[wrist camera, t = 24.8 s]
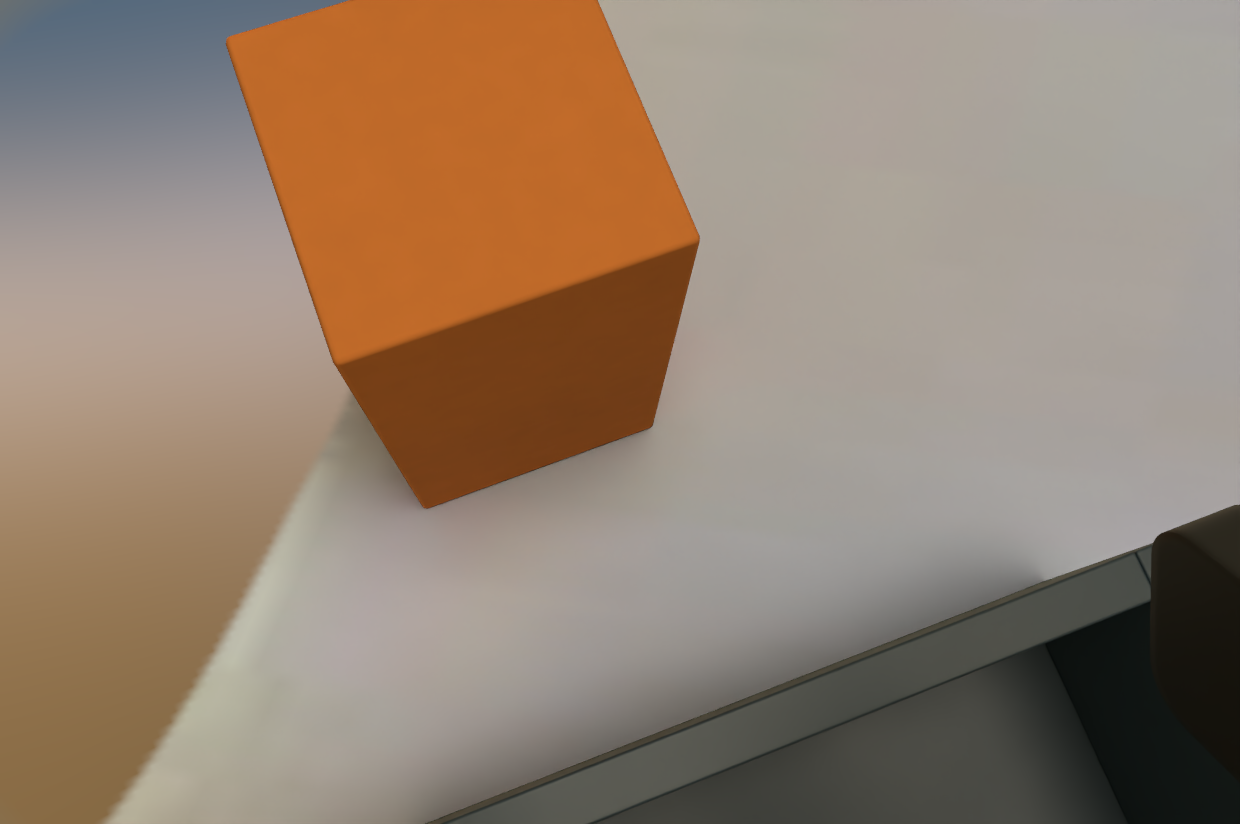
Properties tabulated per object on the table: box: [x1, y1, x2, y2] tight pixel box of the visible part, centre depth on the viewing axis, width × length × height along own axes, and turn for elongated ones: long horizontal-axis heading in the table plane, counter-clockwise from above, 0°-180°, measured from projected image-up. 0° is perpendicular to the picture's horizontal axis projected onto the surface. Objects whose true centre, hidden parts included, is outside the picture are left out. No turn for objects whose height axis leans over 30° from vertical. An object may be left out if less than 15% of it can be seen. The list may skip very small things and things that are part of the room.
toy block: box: [226, 0, 700, 508], centre depth 20 cm, size 5×5×10 cm
